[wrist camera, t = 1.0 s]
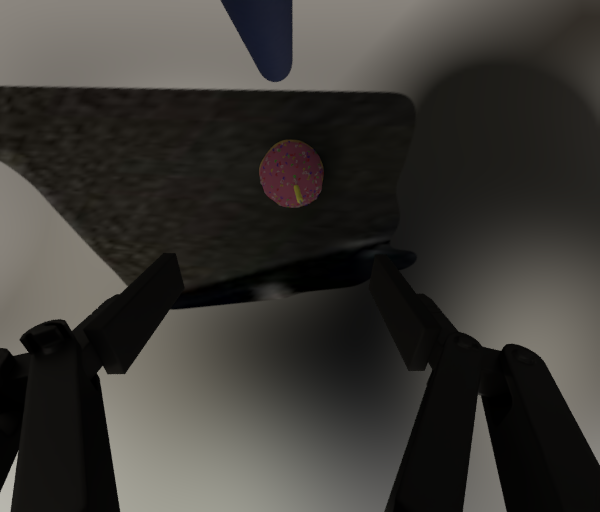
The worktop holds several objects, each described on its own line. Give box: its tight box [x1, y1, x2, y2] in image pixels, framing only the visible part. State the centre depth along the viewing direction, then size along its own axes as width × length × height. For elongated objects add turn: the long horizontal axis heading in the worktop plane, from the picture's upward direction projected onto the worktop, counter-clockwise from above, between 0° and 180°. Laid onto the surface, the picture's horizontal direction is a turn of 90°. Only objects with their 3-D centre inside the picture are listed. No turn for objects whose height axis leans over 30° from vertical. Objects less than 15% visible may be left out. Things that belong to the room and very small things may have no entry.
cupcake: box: [259, 140, 324, 208], centre depth 30 cm, size 9×8×12 cm
